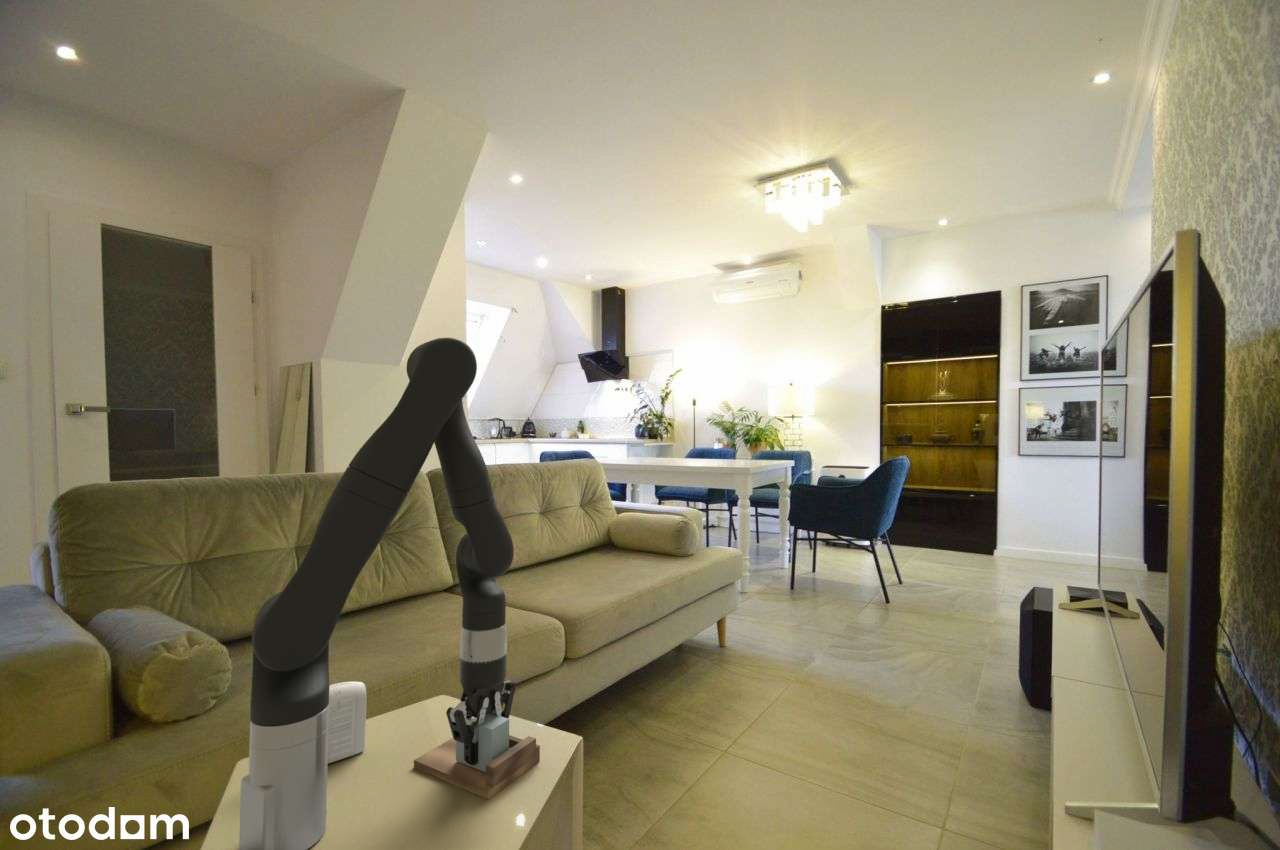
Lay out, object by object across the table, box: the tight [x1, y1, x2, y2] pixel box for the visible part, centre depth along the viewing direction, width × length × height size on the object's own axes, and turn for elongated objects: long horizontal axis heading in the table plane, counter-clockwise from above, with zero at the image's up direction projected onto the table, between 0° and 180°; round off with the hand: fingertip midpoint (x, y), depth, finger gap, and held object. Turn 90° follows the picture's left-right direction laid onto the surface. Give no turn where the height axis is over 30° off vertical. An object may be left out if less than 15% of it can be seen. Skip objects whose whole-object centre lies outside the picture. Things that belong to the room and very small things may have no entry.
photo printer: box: [327, 681, 367, 765], centre depth 96 cm, size 10×4×12 cm, turn 134°
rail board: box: [413, 734, 541, 800], centre depth 94 cm, size 12×17×4 cm
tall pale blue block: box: [456, 713, 510, 772], centre depth 93 cm, size 4×8×7 cm, turn 61°
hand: (482, 756), depth 93 cm, fingers closed on tall pale blue block, 4 cm apart
